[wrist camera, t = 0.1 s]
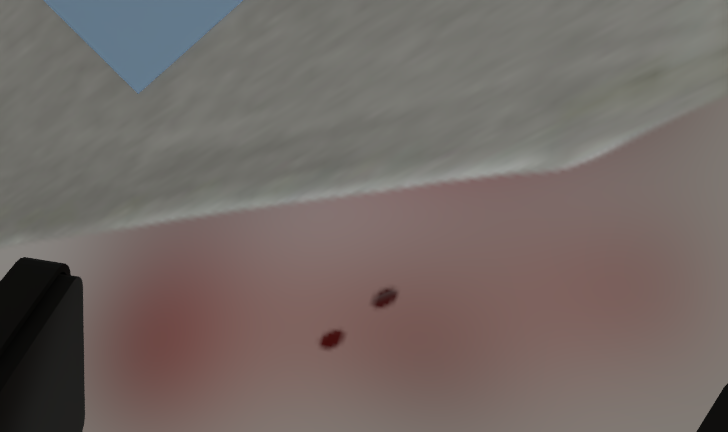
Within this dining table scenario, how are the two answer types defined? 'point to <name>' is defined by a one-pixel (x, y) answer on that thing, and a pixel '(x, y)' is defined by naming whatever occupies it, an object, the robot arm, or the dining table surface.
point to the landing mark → (141, 31)
